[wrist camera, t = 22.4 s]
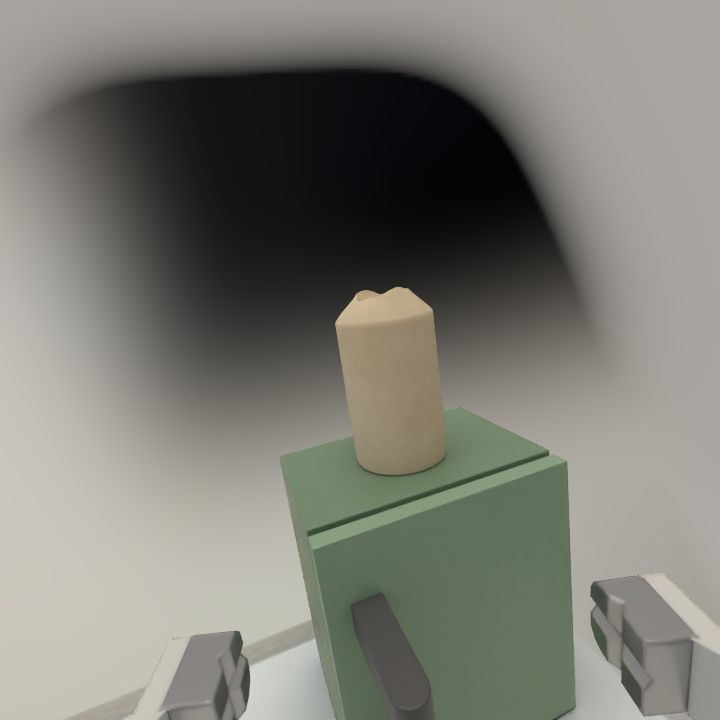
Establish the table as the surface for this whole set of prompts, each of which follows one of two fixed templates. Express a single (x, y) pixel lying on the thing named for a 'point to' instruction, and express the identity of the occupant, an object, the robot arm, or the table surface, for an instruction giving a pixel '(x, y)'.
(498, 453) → the cabinet
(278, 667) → the table surface
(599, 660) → the table surface
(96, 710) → the table surface
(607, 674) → the table surface
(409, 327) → the candle
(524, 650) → the door
